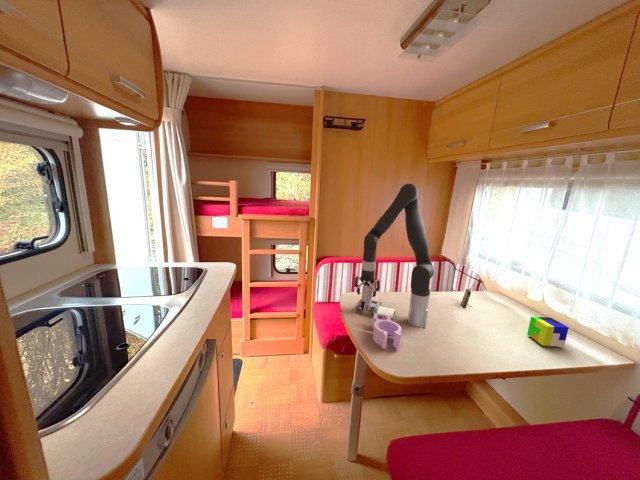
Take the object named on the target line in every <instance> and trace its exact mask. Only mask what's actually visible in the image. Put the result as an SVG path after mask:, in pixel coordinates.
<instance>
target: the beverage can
mask: <svg viewBox="0 0 640 480" xmlns="http://www.w3.org/2000/svg"><path fill="white" fill-rule="evenodd" d="M372 298H373V289H372V288H371V286H364V285H362V290H361V299H362V302H361V307H360V311H364V312H368V313H371V311H372V309H371V306H372V303H371V300H373V299H372Z"/></svg>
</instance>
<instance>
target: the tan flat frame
mask: <svg viewBox="0 0 640 480" xmlns="http://www.w3.org/2000/svg"><path fill="white" fill-rule="evenodd" d="M361 302H362V298H361V299H360V301H359V302H358V304H357V306H356V307H355V309H354V312H353V313H354V314H358V315H363V316H368V317H374V315H375V314H374V310H375V306H372V305H371V311H370V312H369V313H368V312H364V311H361V310H359V309H360V308H361ZM371 302H372V303H371V304H375V305H376V304H377V302H380V306H381V307H382V301H377V300H373V299H372V300H371ZM395 315H396V310H394V314H393V318H391V321H393V322H394V319H395ZM382 317H383V316H380V315H378V319H381V320H382Z"/></svg>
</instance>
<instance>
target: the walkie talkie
mask: <svg viewBox="0 0 640 480" xmlns="http://www.w3.org/2000/svg"><path fill="white" fill-rule="evenodd" d="M474 285H475V282H473V284H472V285H471V287H470V288H466V289H465V291H464V294H463V297H462V300H461V301H460V300H458V299H456V301H458V302H460V303H461V306H462V308H464V309H467V306H469V307H471V308H474V306H472V305H471V304H470V302H469V300H470V297H471V294H472V288H473V286H474ZM453 300H454V301H455V298H452V301H453Z"/></svg>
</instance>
